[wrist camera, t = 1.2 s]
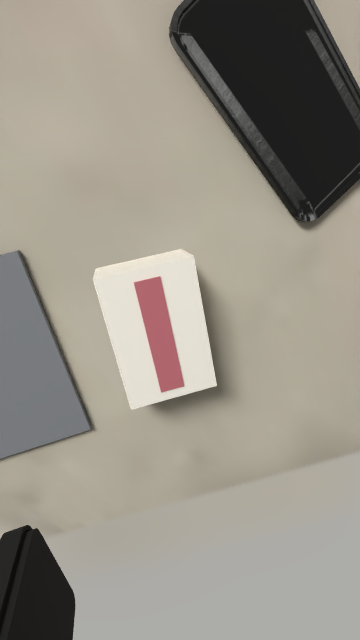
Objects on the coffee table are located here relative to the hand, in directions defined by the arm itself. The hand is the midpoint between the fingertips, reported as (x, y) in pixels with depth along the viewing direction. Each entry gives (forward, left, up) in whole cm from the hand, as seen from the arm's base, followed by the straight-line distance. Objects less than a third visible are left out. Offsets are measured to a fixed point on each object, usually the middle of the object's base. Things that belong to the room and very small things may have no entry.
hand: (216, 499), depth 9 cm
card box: (0, 0, -16) cm, 16 cm away
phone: (-12, -12, -17) cm, 24 cm away
